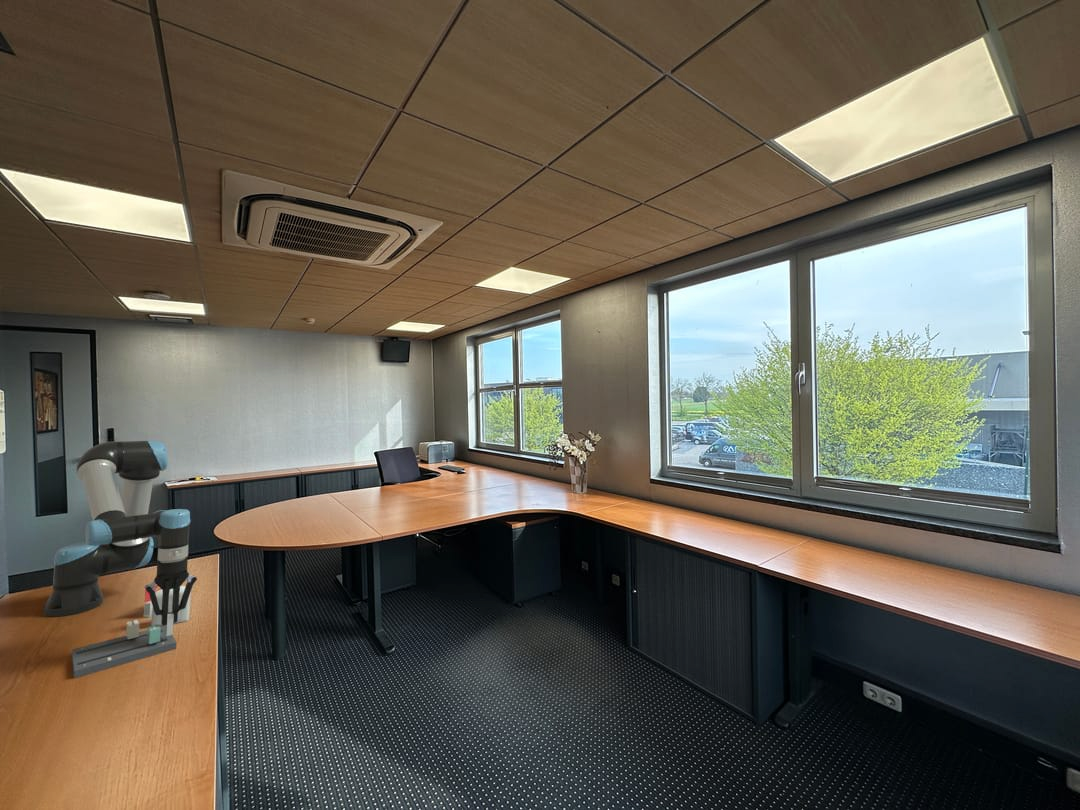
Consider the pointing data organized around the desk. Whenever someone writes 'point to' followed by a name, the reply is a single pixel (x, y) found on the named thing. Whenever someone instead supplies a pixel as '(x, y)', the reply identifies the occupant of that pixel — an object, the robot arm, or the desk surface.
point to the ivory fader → (132, 629)
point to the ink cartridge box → (148, 604)
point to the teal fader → (153, 633)
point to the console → (118, 652)
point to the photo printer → (182, 614)
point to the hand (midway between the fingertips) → (168, 633)
